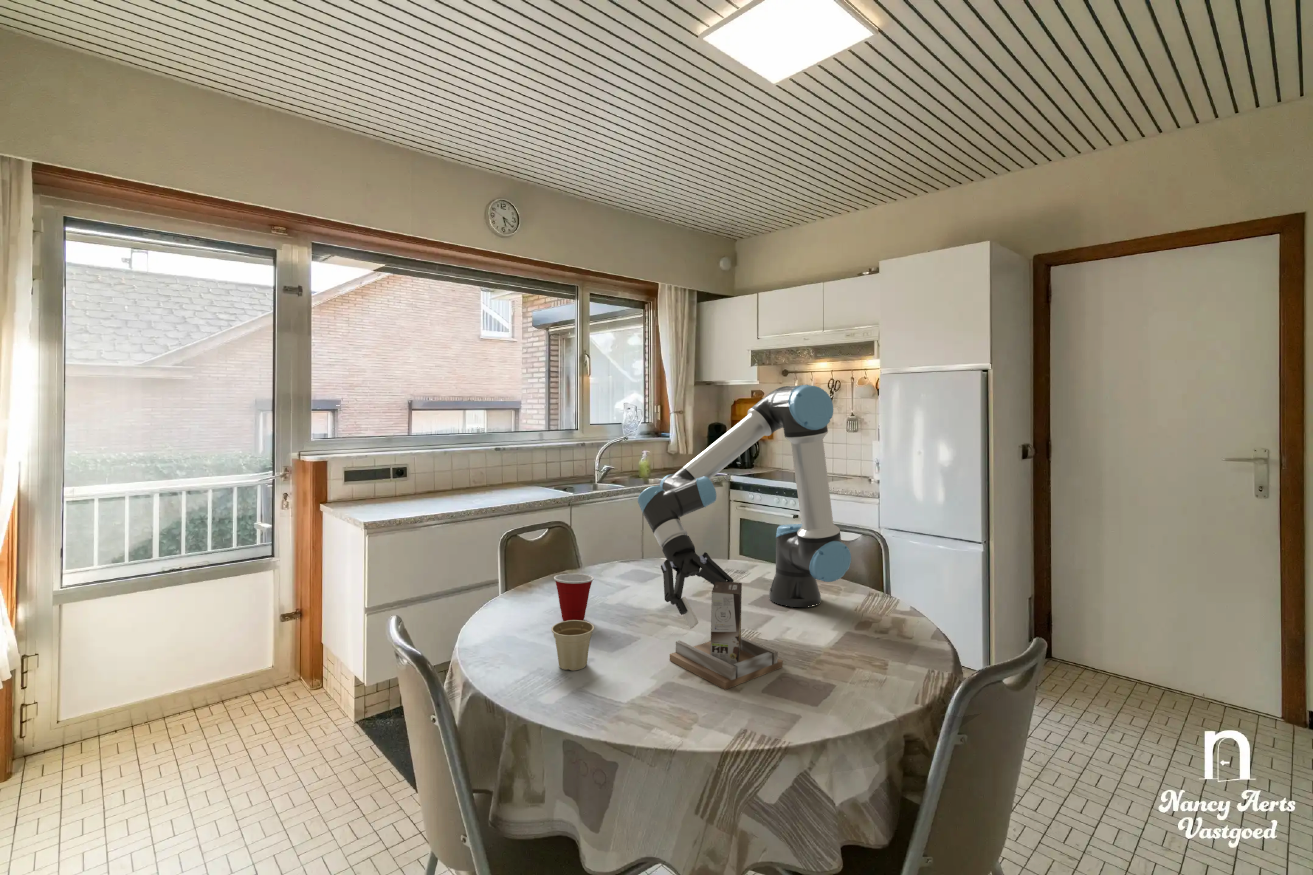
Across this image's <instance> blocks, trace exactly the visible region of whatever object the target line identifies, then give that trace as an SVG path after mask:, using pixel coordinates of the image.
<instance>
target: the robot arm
mask: <svg viewBox="0 0 1313 875" xmlns="http://www.w3.org/2000/svg"><path fill="white" fill-rule="evenodd" d="M833 416H834V404H833V400H832V398H831V396H830V395H829V394H828V392H826V390H824V389H823V388H821V387H819V386H816V385H810V384H800V385H786V386H781V387H777V388H775V389H774V390H772V391H771V392H769V393H768V394H766V395H764V397H763V398H762V399H760V400H759V401H757V403H755V404H754V405H753V406H752V407H750V408H749V409H748V410H747V415H746V416H745V417H743V418H742V419H741V420H740V421H738V422H737V423H736V424H735V425H733V427H731V428H730V429H729V430H727V431H726V432H725V433H724V434H722V435H721V436H720V437H719V438H717V439H716V440H715V441H714V442H713V443H710V445H709V446H708V447H707V448H706V449H704V450H703V451H702V452H700V453H699V454H698V455H697V456H695V457H694V458H693V459H692V460H690V461H689V462H688V463H686V464H685V465H684V466H683V467H681V468H680V469H679V470H678V471H676V472H675V473H672V474H667V475H666V476H664V477H663V478H662V479H661V480H660V482H659V485H655V486H654V485H652V486H649V487H646V488H645V489H644V490H642V491H641V492H640V494H639V495H638V497H637V503H638V505H639V506H638V507H639V508H640V510H641V512H642V515H643V516H644V518H645V520H646V522H647V524H648V525H649V528H650V530H651V531H652V533H653V536H654V537H655V540H656V541H657V544H658V545H659V547H660V548H661V549H662V553H663V555H664V556H665V558H666V559H665V560H664V561H663V563H662V564H661V565H660V569H661V571H662V575H663V578H662V579H663V589H664V590H663V592H664V593H663V594H664V601H665V602H667V603H669V602H670V604H671V605H673V606H674V605H675V606H676V609H677V611H678V612H679V614H680V615H681V616H682V615H683V618H684V620H685V621H686V624H687V625H688V628H689V630H691V629H693V628H695V627H696V625H698V624H699V620H698V618H697V617H696V615H695V612H694V610H693V608H692V607H691V605H690V603H689V601H688V599H687V597H686V596H683V591H684V585H685V579H687V578H689V577H694V576H695V577H696V576H697V577H698V578H700V577H701V578H702V579H704V580H706V581H707V582H708V583H710V584H711V585H713V586H714V584H715V582H734V578H732V576H730V575H729V574H728V573H727V572H726V571H725V570H724V569H723V568H721V567H720V566H719V565H718V564H717V563H716V562H715V561H714V560H713V559H712V558H711V557H710V554H709V553H707V552H704V553H702V554H701V555H698V554H697V552H696V546H695V544H694V543H693V541H692V539H691V537H690V535H688V532H687V530H686V528H685V526H684V525H683V522H682V521H681V519H680V518H682V517H683V516H685V515H689V514H692V513H694V512H696V511H699V510H700V509H704V508H706V507H708V506H710V505H712V504H714V503H716V500H717V491H716V488H715V486H714V484H713V483H714V482H713V481H712V480H711V479H713V478H714V477H715V476H717V475H718V474H719V473H720V472H721V471H722V470H724V468H726V467H727V466H728V465H730V464H731V463H733V462H734V461H735V460H736V459H737V458H739V457H740V456H741V455H742V454H743V453H744V452H746V451H747V450H748V449H749V448H750V447H752V446H753V445H755V444H756V443H757V442H758V441H759V440H760V439H762V438H763V437H764V436H766V437H769V436H771V435H772V434H773V433H775V432H776V431H778V430H781V429H783V434H784V438H785V439H786V440H787V441H788V442H789V443H790V444H791V453H792V460H793V468H794V476H795V484H796V491H797V498H798V508H799V515H800V523H789V524H782V525H781V524H780V525H778V527H777V528H776V533H775V534H776V535H775V540H776V541H775V574H774V577H773V580H772V583H771V586H770V589H769V592H768V593H769V595H768V596H769V597H768V598H770V599H769V600H770V601H771V600H772V601H773V602H772V601H771V602H772V603H774V602H775V603H774V604H776V603H777V604H776V605H778V604H781V605H780V606H782V605H787V606H791V607H790V608H793V607H808V606H812V605H816V604H819V603H820V604H821V602H820V601H821V600H822V598H821V597H822V594H821V593H820V592H821V591H820V589H819V585H818V581H821V582H826V583H831V582H832V583H833V582H835V581H838V580H840V579H841V578H842V577H844V576H845V574H846V572H848V571H849V568H850V567H851V562H852V553H851V551H850V549H849V547H848V546H847V545H846V543H844V542H842V538H841V537H842V536H841V529H840V527H838V526H837V525H836V524H834V523H835V522H834V520H833V519H834V518H833V510H832V502H831V494H830V484H829V477H828V476H829V475H828V470H827V462H826V452H825V444H824V443H825V442H824V438H825V437H826V436H827V434H828V432H829V430H828V428H829V427H828V425H829V423H830V422H831V419H832V418H833ZM673 570H674V571H675V581H674V574H673ZM817 580H818V581H817ZM674 582H675V583H674ZM820 604H819V605H820Z"/></svg>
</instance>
